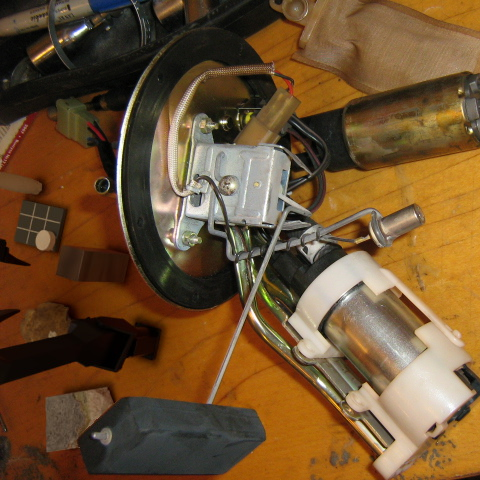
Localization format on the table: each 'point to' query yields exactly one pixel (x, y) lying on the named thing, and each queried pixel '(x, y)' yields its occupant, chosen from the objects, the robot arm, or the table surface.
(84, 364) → the robot arm
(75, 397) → the geological specimen
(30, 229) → the board
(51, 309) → the decorative rock
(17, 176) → the handle
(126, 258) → the stand
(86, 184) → the table surface
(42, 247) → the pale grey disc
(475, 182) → the table surface
